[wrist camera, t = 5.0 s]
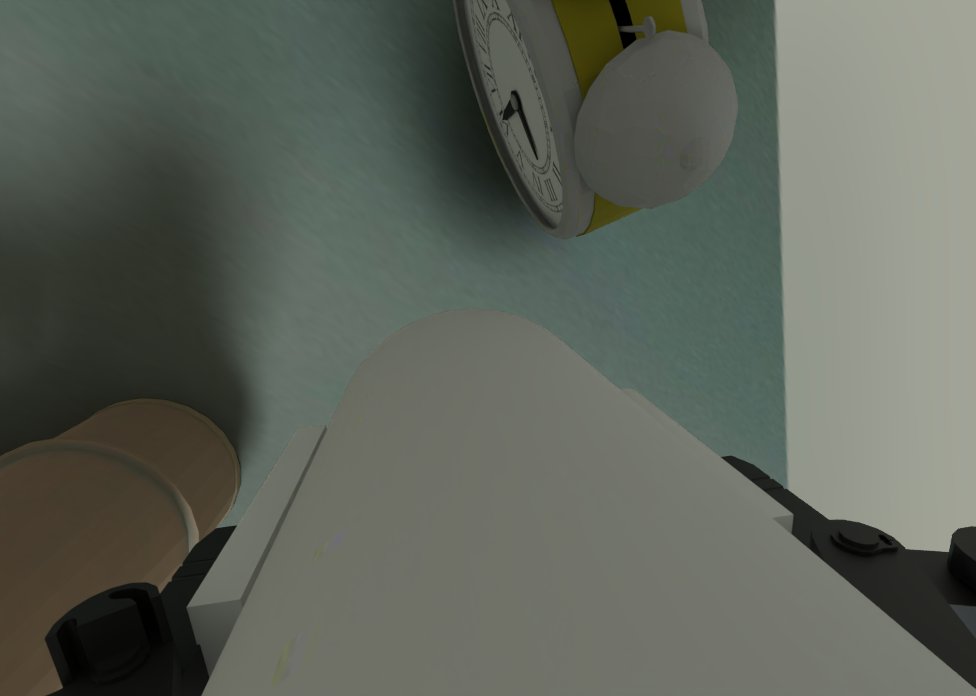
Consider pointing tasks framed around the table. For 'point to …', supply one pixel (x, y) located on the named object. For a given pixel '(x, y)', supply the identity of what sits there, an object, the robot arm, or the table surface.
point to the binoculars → (101, 519)
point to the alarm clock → (598, 103)
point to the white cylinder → (540, 549)
